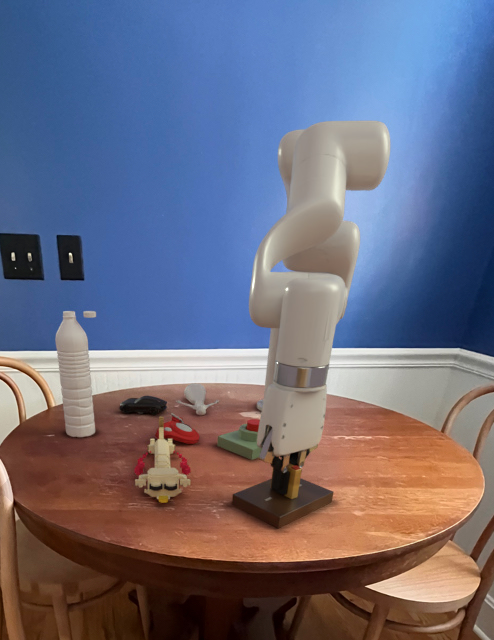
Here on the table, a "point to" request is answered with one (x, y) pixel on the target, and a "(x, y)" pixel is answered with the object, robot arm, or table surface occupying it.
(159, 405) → the toy car
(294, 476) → the lock knob
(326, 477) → the table surface
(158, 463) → the blocky toy figure
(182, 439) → the tracker holder
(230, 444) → the green button base
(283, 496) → the lock plate
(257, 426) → the button
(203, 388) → the woman figurine
